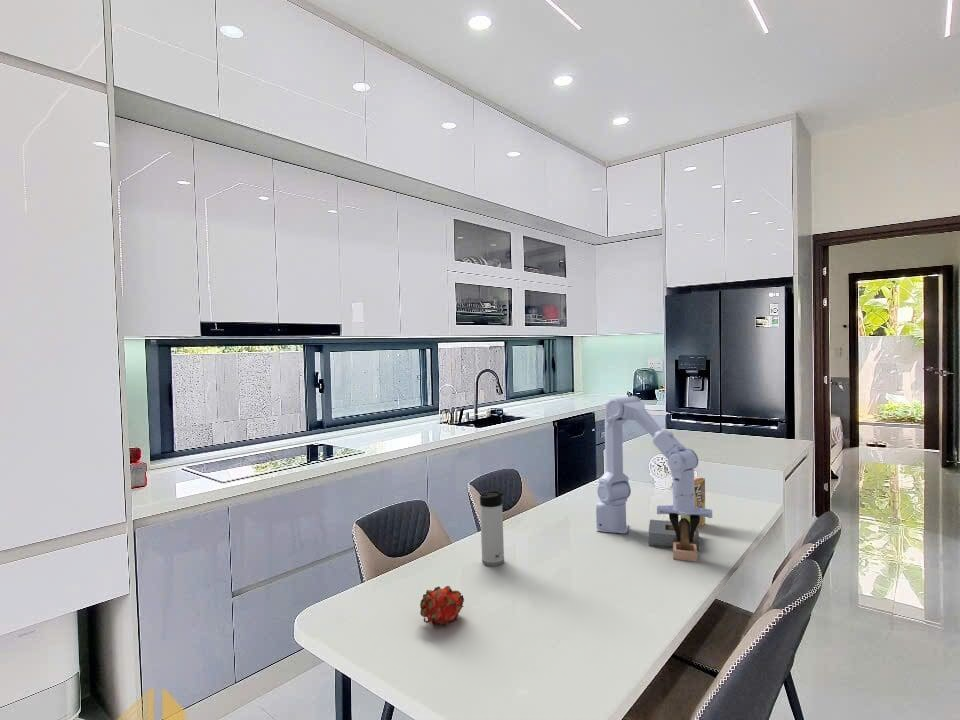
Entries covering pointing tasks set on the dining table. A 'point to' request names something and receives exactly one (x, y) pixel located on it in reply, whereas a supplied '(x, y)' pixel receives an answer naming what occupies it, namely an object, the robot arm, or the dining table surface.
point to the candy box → (698, 497)
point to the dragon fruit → (441, 605)
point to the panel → (666, 534)
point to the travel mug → (492, 528)
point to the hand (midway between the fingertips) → (684, 540)
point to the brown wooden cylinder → (684, 534)
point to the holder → (684, 552)
